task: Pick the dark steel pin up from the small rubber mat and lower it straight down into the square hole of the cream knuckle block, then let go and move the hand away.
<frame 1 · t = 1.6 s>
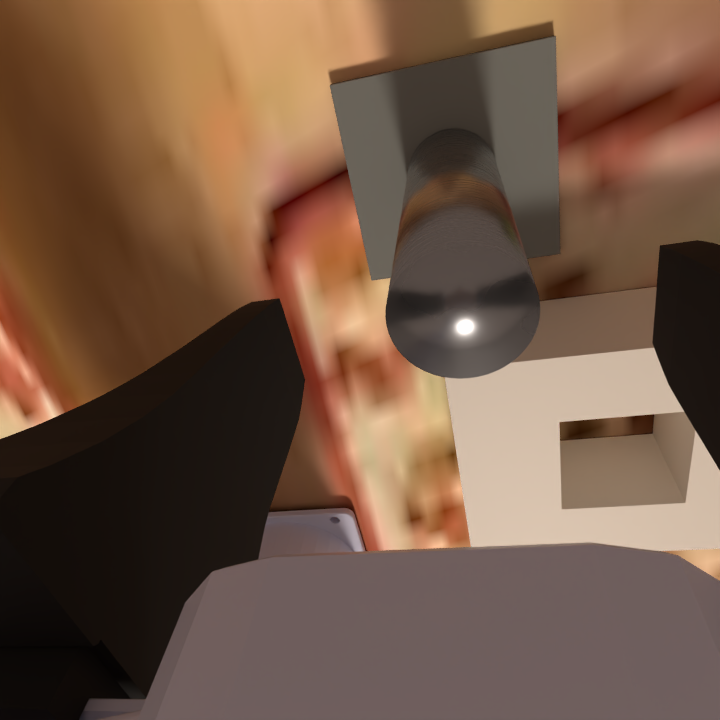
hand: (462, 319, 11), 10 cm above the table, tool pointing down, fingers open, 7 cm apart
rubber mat: (451, 172, 20), on the table
knuckle block: (599, 397, 24), on the table
steel pin: (451, 174, 19), resting on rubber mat
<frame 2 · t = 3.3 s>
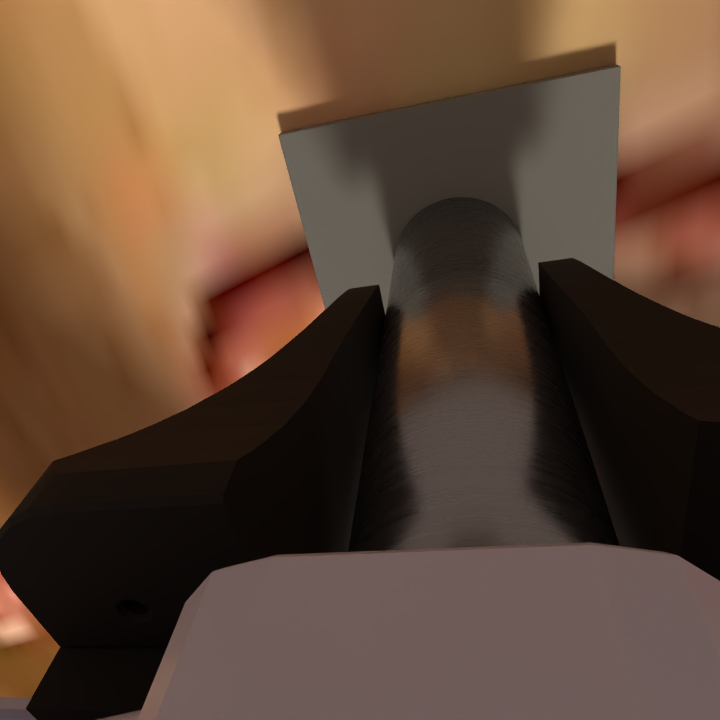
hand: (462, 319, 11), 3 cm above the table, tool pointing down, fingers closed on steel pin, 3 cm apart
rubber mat: (457, 254, 14), on the table
steel pin: (458, 259, 14), resting on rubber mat, touching gripper
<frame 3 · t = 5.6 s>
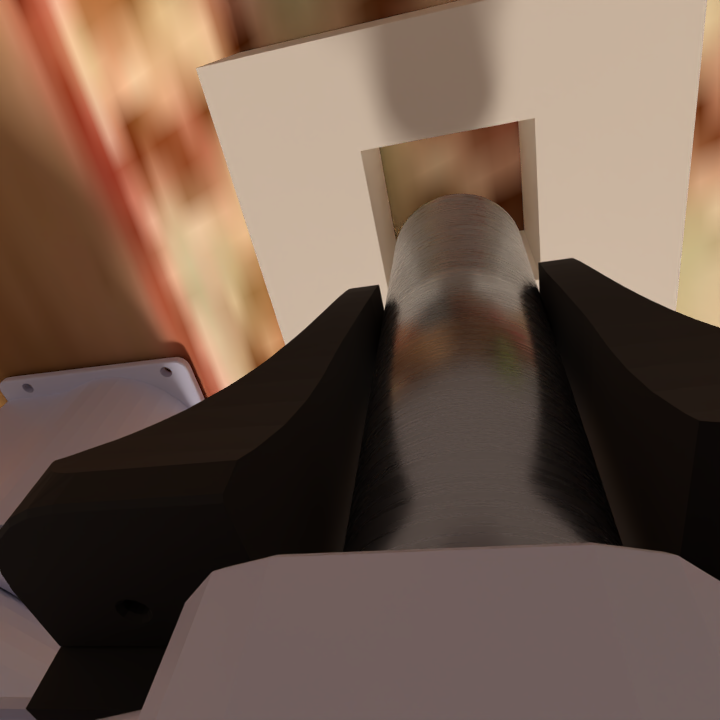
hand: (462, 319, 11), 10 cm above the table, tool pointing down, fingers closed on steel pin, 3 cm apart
knuckle block: (452, 177, 19), on the table
steel pin: (457, 256, 13), point 7 cm above the table, touching gripper
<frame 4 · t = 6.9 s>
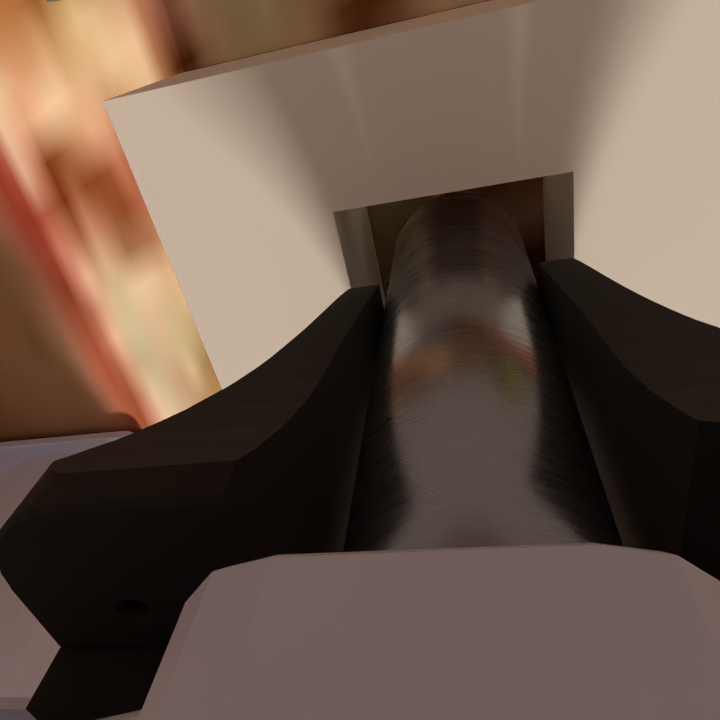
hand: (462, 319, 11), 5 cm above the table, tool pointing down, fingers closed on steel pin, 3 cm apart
knuckle block: (456, 229, 15), on the table
steel pin: (457, 256, 13), point 2 cm above the table, touching gripper
when the fingers open (5 cm above the table, at t = 7.6 s): steel pin drops 2 cm, resting in knuckle block.
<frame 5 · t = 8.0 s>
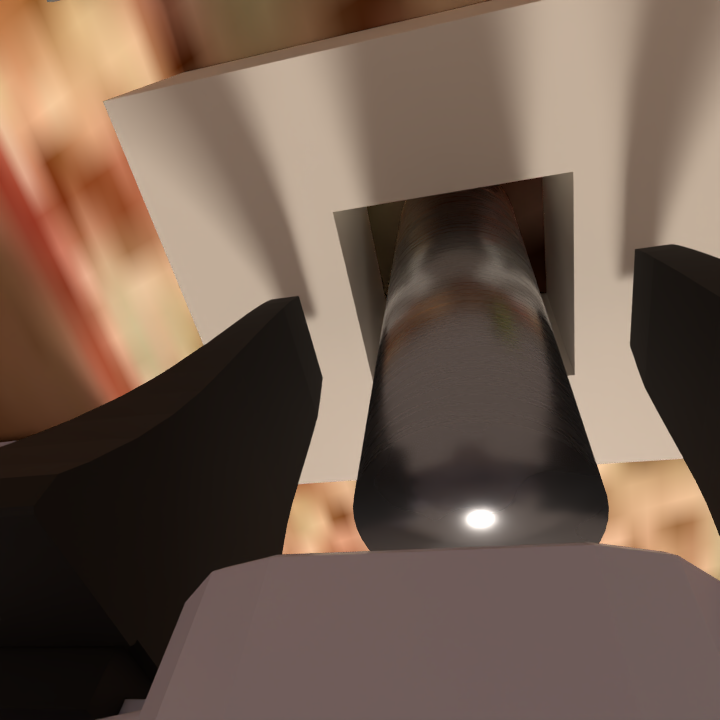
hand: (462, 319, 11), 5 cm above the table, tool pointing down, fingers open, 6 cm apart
knuckle block: (456, 229, 15), on the table
steel pin: (455, 226, 15), resting in knuckle block
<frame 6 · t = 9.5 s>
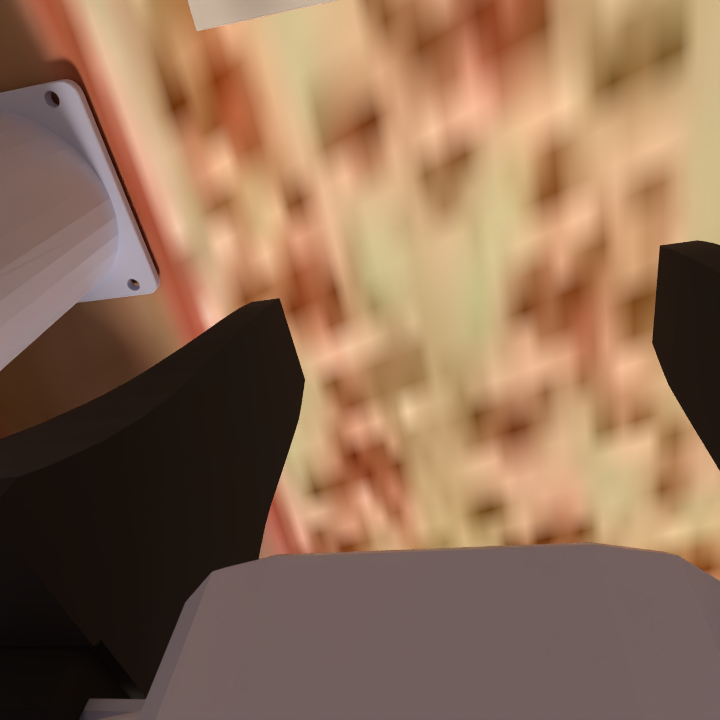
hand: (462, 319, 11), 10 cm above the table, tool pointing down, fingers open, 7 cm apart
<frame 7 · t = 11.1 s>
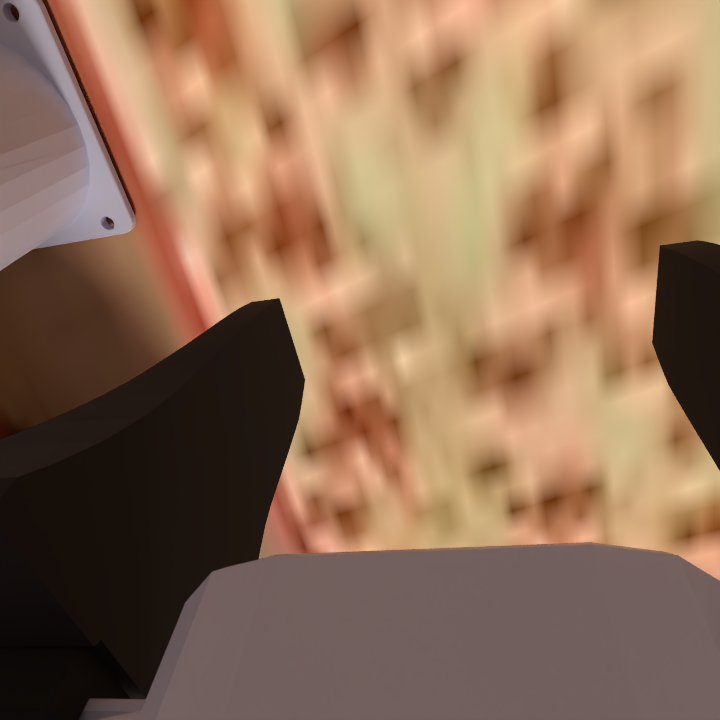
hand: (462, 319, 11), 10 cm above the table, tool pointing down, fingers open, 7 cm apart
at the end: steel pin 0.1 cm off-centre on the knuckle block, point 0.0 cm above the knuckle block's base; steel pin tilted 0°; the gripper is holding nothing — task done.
